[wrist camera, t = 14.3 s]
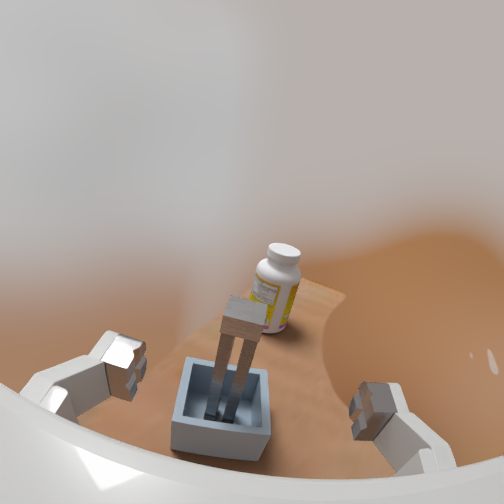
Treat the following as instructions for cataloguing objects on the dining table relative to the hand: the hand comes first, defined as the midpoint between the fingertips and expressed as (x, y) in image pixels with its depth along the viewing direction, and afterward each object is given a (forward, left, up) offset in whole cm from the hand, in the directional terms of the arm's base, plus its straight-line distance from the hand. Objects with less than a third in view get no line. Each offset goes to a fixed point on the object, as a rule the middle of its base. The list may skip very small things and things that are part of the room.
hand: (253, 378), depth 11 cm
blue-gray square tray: (-1, -12, -20) cm, 23 cm away
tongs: (-1, -12, -19) cm, 23 cm away
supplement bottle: (-7, -33, -20) cm, 39 cm away
